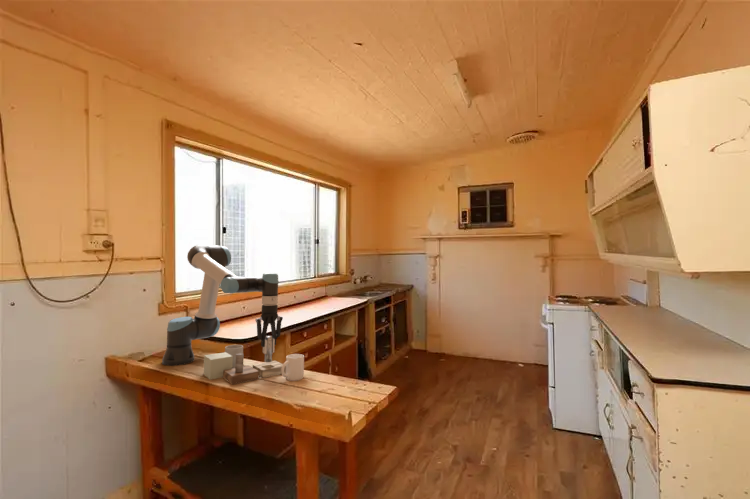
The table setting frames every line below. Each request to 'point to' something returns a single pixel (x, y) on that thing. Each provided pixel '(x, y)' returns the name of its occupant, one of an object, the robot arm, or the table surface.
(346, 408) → the table surface
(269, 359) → the pin
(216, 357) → the block
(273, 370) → the square block with hole
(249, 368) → the board
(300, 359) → the mug
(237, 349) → the mug
